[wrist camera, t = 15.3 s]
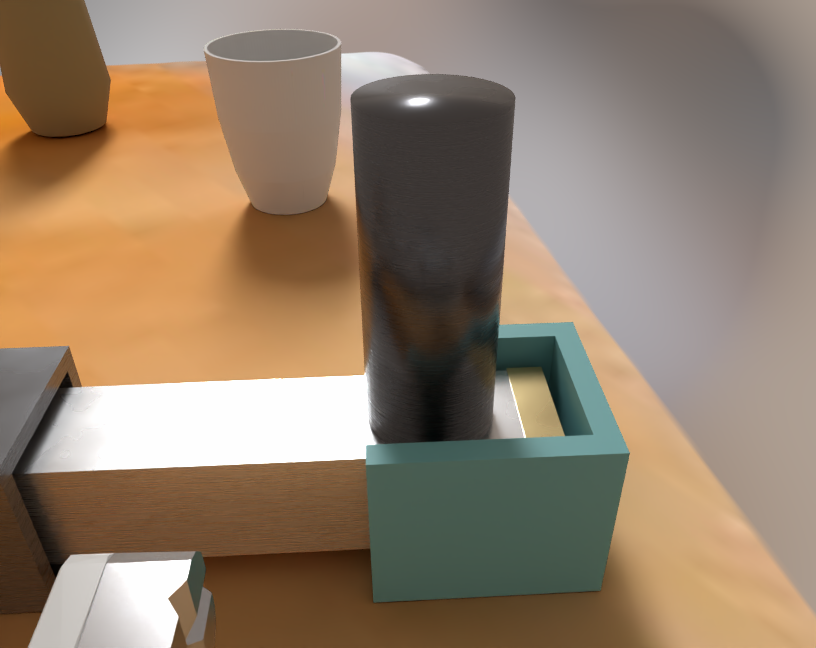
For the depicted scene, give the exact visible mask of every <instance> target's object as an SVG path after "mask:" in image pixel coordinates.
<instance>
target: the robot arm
mask: <svg viewBox="0 0 816 648" xmlns="http://www.w3.org/2000/svg"><path fill="white" fill-rule="evenodd" d="M205 572H206V567H205V564H204V560H203V557H202V553H201V552H199V551H185V552H140V553H107V554H79V555H70V557H69V558H68V559H67V560H66V562H65V563H64V564H63V565H62V566H61V568H60V570H59V572H58V575H57V577H56V580H55V582H54V585H53V587H52V589H51V592H50V594H49V597H48V599H47V602H46V604H45V607H44V609H43V612H42V614H41V616H40V619H39V621H38V624H37V626H36V629H35V631H34V634H33V636H32V638H31V641H30V643H29V646H28V648H215V634H216V616H215V605H214V601H213V596H212V593H211V592H210V591H209V590H207V589H206V588H204V587H203V583H204V577H205Z"/></svg>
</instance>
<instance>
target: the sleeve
mask: <svg viewBox="0 0 816 648" xmlns="http://www.w3.org/2000/svg"><path fill="white" fill-rule="evenodd" d="M73 387H82V385H81V382H80V379H79V376H78V373H77V370H76V367H75V364H74V360H73V357H72V354H71V351H70V348H69V346H58V347H32V348H5V349H0V614H7V613H26V612H43V609H44V607H45V604H46V602H47V599H48V597H49V594H50V592H51V589H52V587H53V585H54V582H55V580H56V577H57V575H58V572H59V570H60V568H61V566H62V565H63V564H52V565H50V563H49V561H48V559H47V556H46V554H45V552H44V549H43V547H42V544H41V542H40V540H39V537H38V535H37V533H36V530H35V528H34V526H33V523H32V521H31V518H30V516H29V514H28V511H27V509H26V507H25V504H24V502H23V500H22V497H21V495H20V492H19V490H18V488H17V485H16V483H15V481H14V478H13V476H12V472H13V470H14V468H15V467H16V465H17V463H18V461H19V459H20V457H21V456H22V454H23V452H24V450H25V448H26V446H27V445H28V443H29V441H30V439H31V437H32V435H33V434H34V432H35V430H36V428H37V426H38V424H39V423H40V421H41V419H42V417H43V415H44V413H45V412H46V410H47V408H48V406H49V404H50V402H51V401H52V399H53V397H54V395H55V393H56V391H57V390H58V388H73Z"/></svg>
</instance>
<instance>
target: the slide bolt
mask: <svg viewBox="0 0 816 648" xmlns="http://www.w3.org/2000/svg"><path fill="white" fill-rule="evenodd" d="M514 109H515V95H514V94H513V92H512V91H511V90H509V89H508V88H506V87H504V86H502V85H500V84H498V83H495V82H492V81H488V80H484V79H479V78H475V77H468V76H459V75H446V74H445V75H444V74H421V75H407V76H398V77H392V78H387V79H382V80H378V81H374V82H371V83H369V84H366V85H364V86H362V87H360V88H358V89H357V90H356V91H354V92H353V94H352V95H351V116H352V135H353V154H354V174H355V193H356V212H357V232H358V251H359V270H360V289H361V309H362V328H363V347H364V367H365V376H347V377H322V378H297V379H272V380H247V381H223V382H198V383H173V384H148V385H123V386H98V387H73V388H58V390H57V391H56V393H55V395H54V397H53V399H52V401H51V402H50V404H49V406H48V408H47V410H46V412H45V413H44V415H43V417H42V419H41V421H40V423H39V424H38V426H37V428H36V430H35V432H34V434H33V435H32V437H31V439H30V441H29V443H28V445H27V446H26V448H25V450H24V452H23V454H22V456H21V457H20V459H19V461H18V463H17V465H16V467H15V468H14V470H13V472H12V476H13V478H14V481H15V483H16V485H17V488H18V490H19V492H20V495H21V497H22V500H23V502H24V504H25V507H26V509H27V511H28V514H29V516H30V518H31V521H32V523H33V526H34V528H35V530H36V533H37V535H38V537H39V540H40V542H41V544H42V547H43V549H44V552H45V554H46V556H47V559H48V561H49V563H50V565H52V564H64V563H65V562H66V560H67V559H68V558H69V557H70V555H79V554H107V553H140V552H185V551H199V552H201V553H202V557H214V556H234V555H254V554H274V553H295V552H315V551H335V550H355V549H370V532H369V514H368V496H367V478H366V445H373V444H396V443H419V442H442V441H464V440H487V439H510V438H533V437H556V436H565V435H564V432H563V429H562V426H561V423H560V420H559V417H558V414H557V411H556V408H555V406H554V403H553V400H552V397H551V394H550V391H549V388H548V385H547V382H546V379H545V376H544V373H543V370H542V367H521V368H507V369H506V370H497V371H496V363H497V349H498V335H499V321H500V307H501V293H502V279H503V265H504V250H505V236H506V222H507V208H508V194H509V180H510V166H511V152H512V151H511V150H512V138H513V137H512V136H513V123H514Z"/></svg>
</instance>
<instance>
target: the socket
mask: <svg viewBox="0 0 816 648" xmlns="http://www.w3.org/2000/svg"><path fill="white" fill-rule="evenodd" d="M521 367H542V370H543V373H544V376H545V379H546V382H547V385H548V388H549V391H550V394H551V397H552V400H553V403H554V406H555V408H556V411H557V414H558V417H559V420H560V423H561V426H562V429H563V432H564V435H565V436H556V437H533V438H510V439H487V440H464V441H442V442H419V443H396V444H373V445H366V478H367V496H368V514H369V532H370V550H371V568H372V585H373V603H375V602H394V601H413V600H432V599H451V598H470V597H489V596H508V595H527V594H546V593H566V592H585V591H601V586H602V581H603V577H604V572H605V567H606V563H607V558H608V553H609V548H610V544H611V539H612V534H613V530H614V525H615V520H616V516H617V511H618V506H619V501H620V497H621V492H622V487H623V483H624V478H625V473H626V468H627V464H628V459H629V454H630V453H629V450H628V448H627V446H626V443H625V441H624V439H623V436H622V434H621V432H620V430H619V427H618V425H617V423H616V420H615V418H614V416H613V414H612V411H611V409H610V407H609V404H608V402H607V400H606V398H605V395H604V393H603V391H602V388H601V386H600V384H599V381H598V379H597V377H596V375H595V372H594V370H593V368H592V365H591V363H590V361H589V359H588V356H587V354H586V352H585V349H584V347H583V345H582V343H581V340H580V338H579V336H578V333H577V331H576V329H575V326H574V324H573V322H565V323H539V324H512V325H499V335H498V349H497V363H496V371H497V370H506V369H507V368H521Z"/></svg>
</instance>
